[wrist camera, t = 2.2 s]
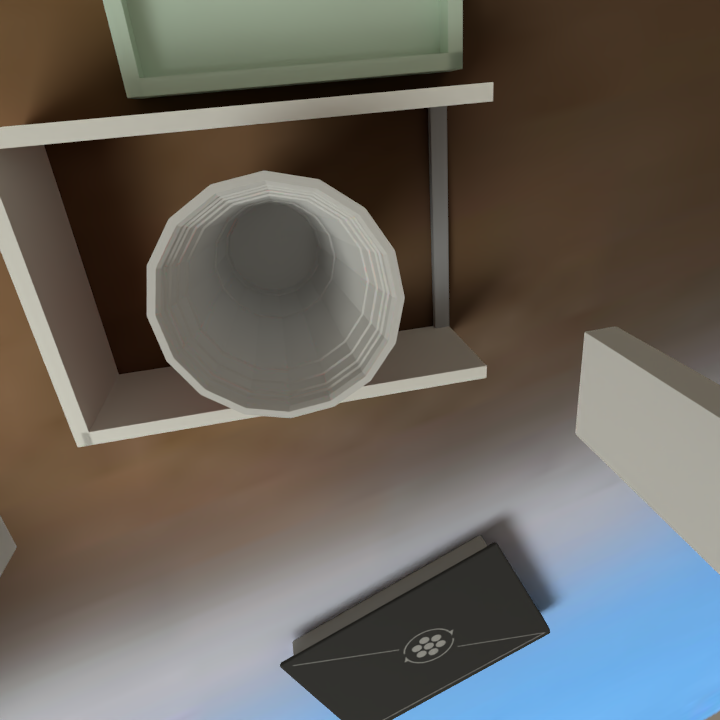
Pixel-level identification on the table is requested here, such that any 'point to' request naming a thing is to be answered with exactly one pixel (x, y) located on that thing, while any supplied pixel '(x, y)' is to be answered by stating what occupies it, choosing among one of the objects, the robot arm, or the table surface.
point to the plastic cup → (274, 294)
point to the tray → (278, 42)
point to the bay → (165, 385)
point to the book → (418, 636)
